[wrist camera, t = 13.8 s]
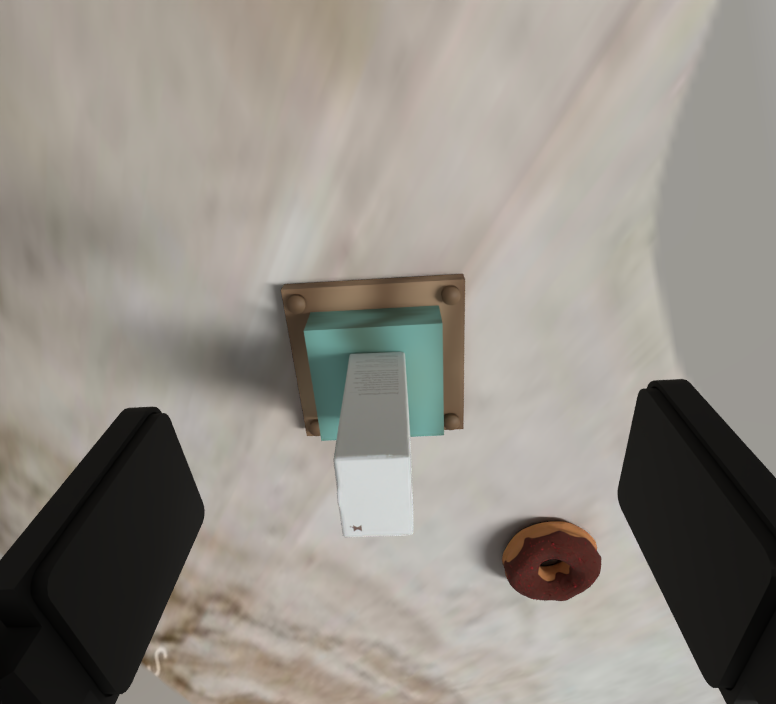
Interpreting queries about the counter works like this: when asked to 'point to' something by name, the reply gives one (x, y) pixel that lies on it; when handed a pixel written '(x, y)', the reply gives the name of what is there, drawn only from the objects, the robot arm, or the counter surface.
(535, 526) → the donut
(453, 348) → the tower base
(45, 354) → the counter surface
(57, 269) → the counter surface
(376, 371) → the skincare box
